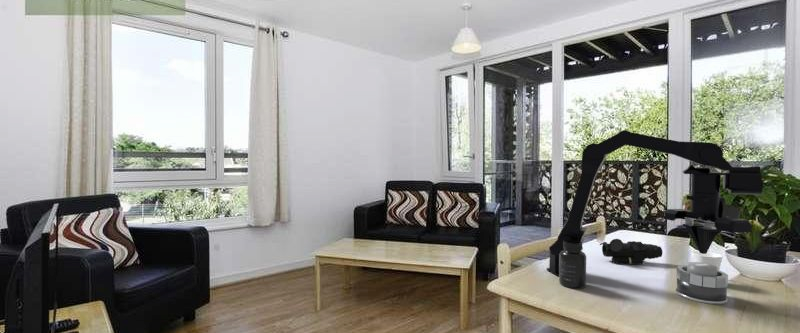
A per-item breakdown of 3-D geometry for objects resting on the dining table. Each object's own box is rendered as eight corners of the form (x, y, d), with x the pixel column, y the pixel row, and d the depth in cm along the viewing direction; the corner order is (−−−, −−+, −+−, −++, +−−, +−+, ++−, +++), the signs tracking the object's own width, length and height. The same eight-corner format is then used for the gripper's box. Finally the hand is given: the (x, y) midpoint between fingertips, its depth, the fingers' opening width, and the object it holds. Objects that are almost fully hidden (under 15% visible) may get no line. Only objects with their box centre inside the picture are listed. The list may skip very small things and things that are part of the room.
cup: (686, 280, 109) (687, 252, 109) (699, 274, 115) (700, 248, 114) (716, 288, 103) (717, 258, 103) (729, 281, 109) (730, 253, 109)
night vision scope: (658, 270, 126) (671, 257, 119) (601, 268, 129) (610, 255, 122) (651, 248, 131) (663, 235, 123) (596, 246, 134) (604, 233, 126)
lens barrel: (702, 305, 91) (703, 278, 91) (665, 289, 102) (666, 265, 101) (739, 303, 93) (740, 277, 93) (699, 288, 103) (700, 264, 103)
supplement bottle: (564, 278, 110) (565, 237, 109) (589, 284, 105) (590, 241, 104) (554, 284, 105) (555, 241, 104) (580, 291, 100) (581, 246, 100)
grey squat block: (702, 285, 94) (703, 268, 93) (680, 277, 100) (681, 261, 99) (723, 284, 95) (724, 267, 94) (700, 276, 101) (701, 260, 100)
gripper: (773, 196, 88) (770, 262, 89) (698, 188, 107) (697, 243, 107) (732, 196, 86) (729, 264, 87) (663, 188, 105) (662, 245, 106)
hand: (703, 253), depth 97 cm, fingers closed
